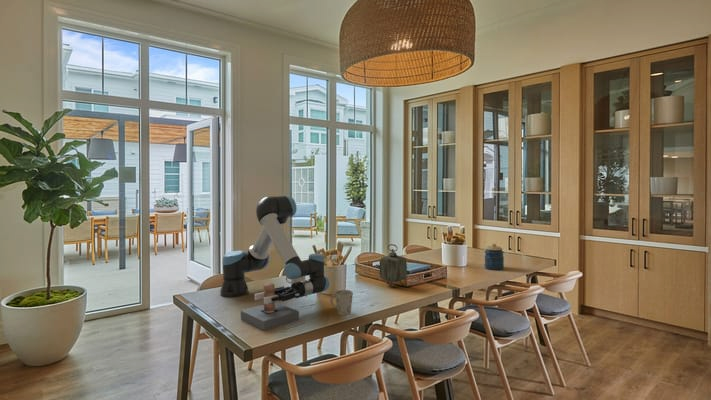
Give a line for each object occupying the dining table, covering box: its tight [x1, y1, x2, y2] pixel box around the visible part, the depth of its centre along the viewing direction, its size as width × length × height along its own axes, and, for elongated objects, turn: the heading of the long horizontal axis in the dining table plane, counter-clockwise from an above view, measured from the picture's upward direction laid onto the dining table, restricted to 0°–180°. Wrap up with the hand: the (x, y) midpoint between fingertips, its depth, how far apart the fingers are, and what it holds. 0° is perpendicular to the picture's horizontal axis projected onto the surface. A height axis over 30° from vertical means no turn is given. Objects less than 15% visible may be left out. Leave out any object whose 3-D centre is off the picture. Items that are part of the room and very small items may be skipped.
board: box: [240, 301, 300, 331], centre depth 179 cm, size 20×18×4 cm
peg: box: [263, 283, 276, 314], centre depth 178 cm, size 5×5×16 cm
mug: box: [329, 289, 354, 316], centre depth 187 cm, size 8×13×10 cm, turn 58°
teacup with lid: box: [285, 276, 306, 286], centre depth 236 cm, size 12×9×12 cm
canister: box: [483, 243, 505, 271], centre depth 277 cm, size 13×13×18 cm
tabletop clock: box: [379, 243, 408, 288], centre depth 233 cm, size 14×9×25 cm, turn 50°
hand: (259, 299), depth 175 cm, fingers open, 7 cm apart
